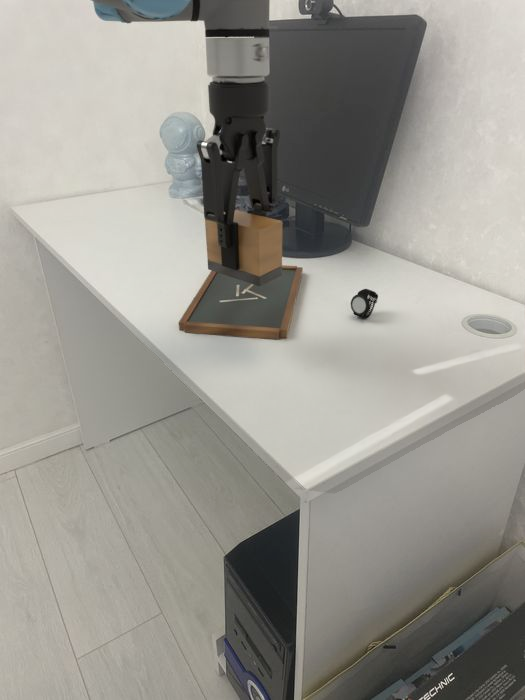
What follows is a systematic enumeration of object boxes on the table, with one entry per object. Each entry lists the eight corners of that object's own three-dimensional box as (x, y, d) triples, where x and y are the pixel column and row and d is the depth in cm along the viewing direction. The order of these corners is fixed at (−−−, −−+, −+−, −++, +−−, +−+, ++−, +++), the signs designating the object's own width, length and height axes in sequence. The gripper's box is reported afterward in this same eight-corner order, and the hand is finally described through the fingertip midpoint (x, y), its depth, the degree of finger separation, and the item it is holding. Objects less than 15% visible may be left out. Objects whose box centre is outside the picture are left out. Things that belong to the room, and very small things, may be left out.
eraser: (207, 269, 76) (204, 215, 72) (230, 259, 80) (228, 207, 76) (259, 286, 71) (259, 230, 67) (282, 275, 74) (282, 220, 70)
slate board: (178, 332, 87) (177, 324, 86) (217, 268, 111) (217, 261, 110) (286, 340, 85) (286, 332, 84) (302, 273, 109) (302, 266, 108)
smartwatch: (346, 314, 92) (348, 289, 90) (371, 309, 94) (374, 284, 91) (358, 324, 89) (361, 298, 86) (384, 319, 91) (387, 293, 88)
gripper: (208, 86, 54) (219, 288, 67) (307, 76, 66) (301, 249, 78) (161, 83, 58) (179, 274, 71) (262, 74, 70) (263, 239, 82)
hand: (244, 261), depth 74 cm, fingers closed on eraser, 5 cm apart
